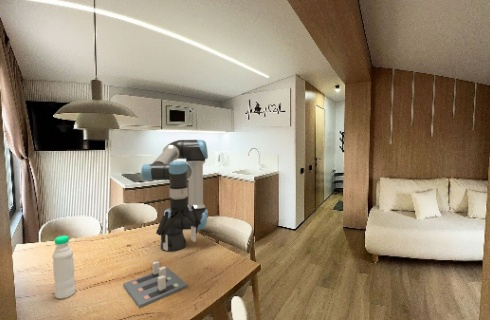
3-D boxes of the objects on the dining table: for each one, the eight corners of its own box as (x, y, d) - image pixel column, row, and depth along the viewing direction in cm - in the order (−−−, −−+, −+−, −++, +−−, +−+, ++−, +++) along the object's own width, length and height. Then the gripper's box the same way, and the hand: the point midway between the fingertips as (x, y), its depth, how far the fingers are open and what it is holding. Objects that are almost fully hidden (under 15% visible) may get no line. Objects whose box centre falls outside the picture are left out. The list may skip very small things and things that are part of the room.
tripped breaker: (157, 290, 109) (156, 277, 109) (164, 287, 111) (163, 274, 111) (159, 293, 107) (159, 279, 107) (166, 290, 109) (166, 277, 109)
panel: (123, 286, 115) (123, 283, 115) (167, 269, 129) (167, 267, 129) (139, 308, 100) (139, 305, 100) (187, 287, 114) (187, 284, 114)
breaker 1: (152, 274, 122) (151, 262, 121) (158, 272, 124) (157, 260, 123) (154, 276, 120) (153, 264, 119) (160, 274, 122) (160, 262, 121)
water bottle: (72, 287, 114) (68, 232, 112) (78, 293, 110) (74, 236, 107) (53, 295, 109) (48, 237, 106) (58, 301, 104) (54, 242, 102)
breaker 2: (158, 280, 117) (157, 268, 116) (164, 278, 119) (164, 265, 118) (160, 282, 115) (160, 270, 114) (167, 280, 117) (166, 267, 116)
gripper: (154, 204, 100) (156, 256, 102) (207, 194, 117) (208, 239, 119) (146, 200, 105) (148, 250, 107) (198, 191, 122) (199, 235, 124)
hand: (180, 245), depth 113 cm, fingers open, 13 cm apart
